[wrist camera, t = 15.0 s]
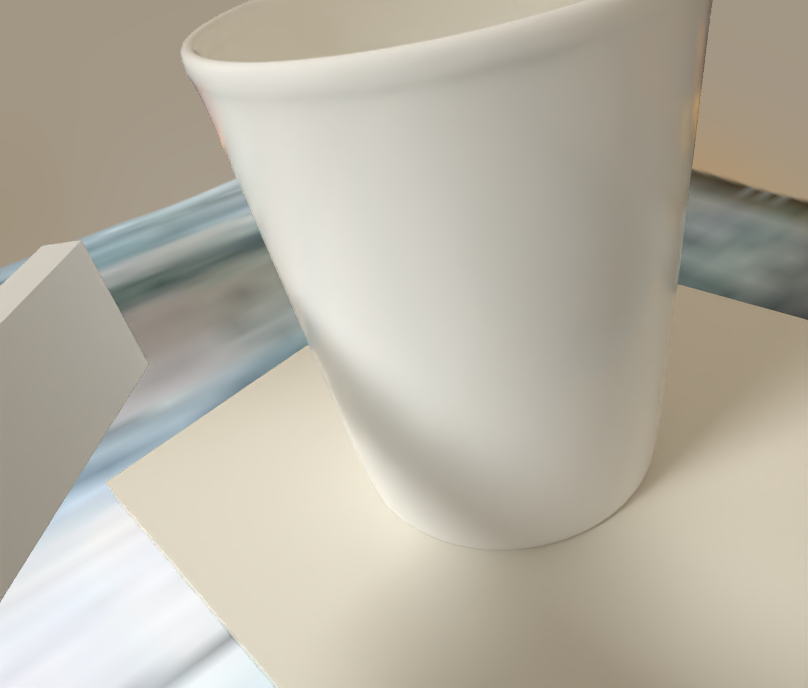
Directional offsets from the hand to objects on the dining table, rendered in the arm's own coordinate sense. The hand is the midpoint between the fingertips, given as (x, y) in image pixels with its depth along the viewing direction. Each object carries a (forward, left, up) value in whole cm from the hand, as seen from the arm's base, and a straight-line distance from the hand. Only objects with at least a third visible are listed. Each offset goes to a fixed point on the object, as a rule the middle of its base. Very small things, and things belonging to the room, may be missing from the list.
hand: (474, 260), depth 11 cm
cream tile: (-3, +3, -10) cm, 11 cm away
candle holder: (-3, +3, -9) cm, 10 cm away
